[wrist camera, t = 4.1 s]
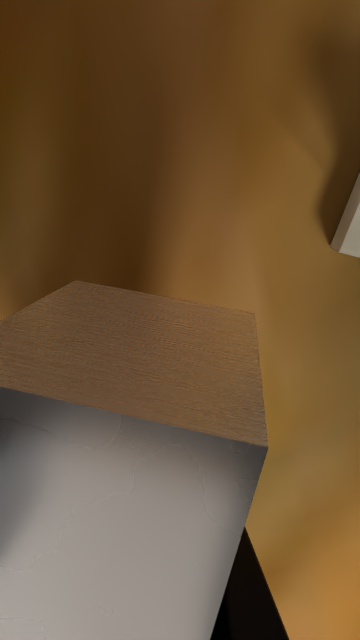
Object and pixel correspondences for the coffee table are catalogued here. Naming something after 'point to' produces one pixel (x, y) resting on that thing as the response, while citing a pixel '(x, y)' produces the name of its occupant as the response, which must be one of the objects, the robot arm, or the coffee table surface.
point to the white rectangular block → (124, 463)
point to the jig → (349, 226)
